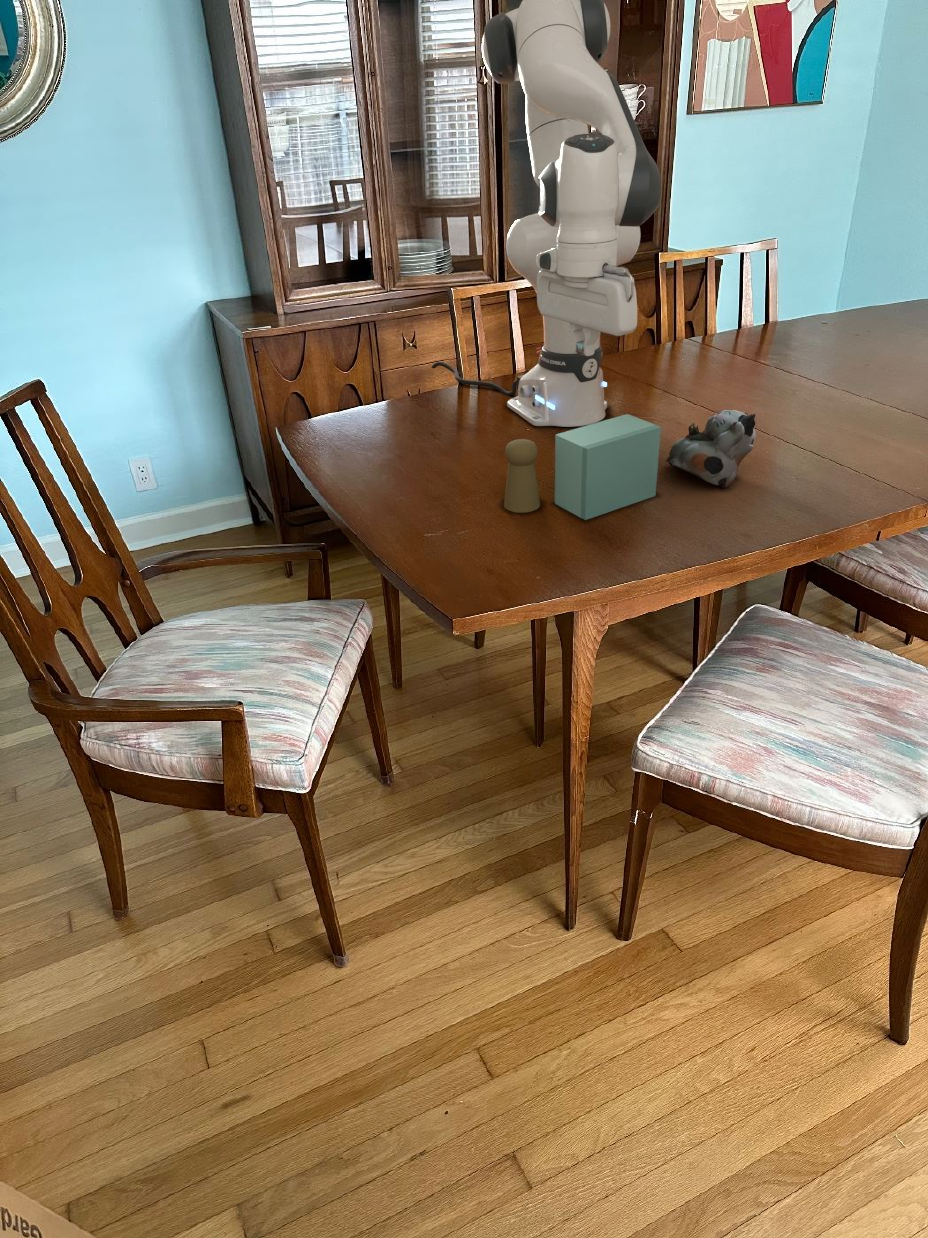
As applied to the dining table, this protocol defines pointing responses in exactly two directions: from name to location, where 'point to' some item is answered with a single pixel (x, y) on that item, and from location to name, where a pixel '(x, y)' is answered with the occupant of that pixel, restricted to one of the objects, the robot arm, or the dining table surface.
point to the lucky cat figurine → (715, 447)
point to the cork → (521, 477)
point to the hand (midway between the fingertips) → (584, 353)
